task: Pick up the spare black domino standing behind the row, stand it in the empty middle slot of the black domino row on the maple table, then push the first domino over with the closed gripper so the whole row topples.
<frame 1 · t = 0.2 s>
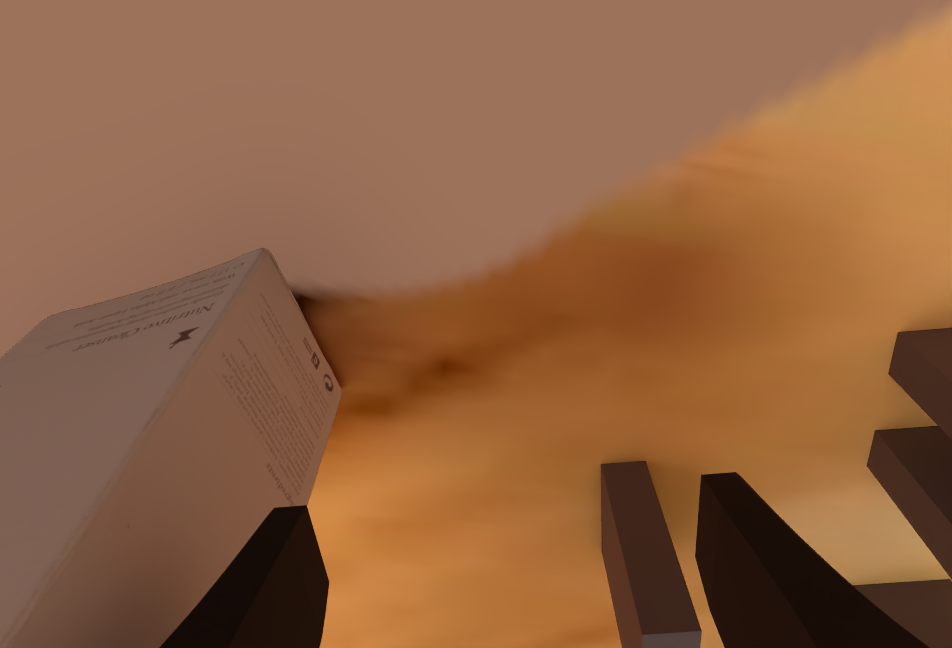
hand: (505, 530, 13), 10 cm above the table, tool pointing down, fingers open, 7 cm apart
skincare box: (200, 355, 23), on the table
tile 2: (890, 596, 28), on the table
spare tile: (622, 507, 26), on the table
tile 4: (934, 443, 24), on the table
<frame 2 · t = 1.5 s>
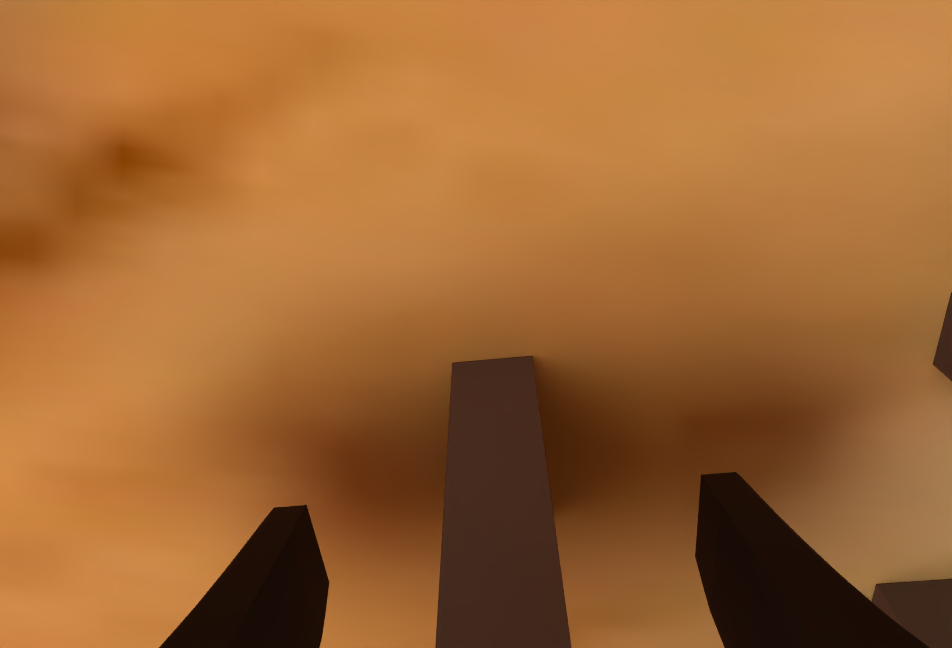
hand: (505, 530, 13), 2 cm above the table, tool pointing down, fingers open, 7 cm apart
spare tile: (501, 445, 15), on the table
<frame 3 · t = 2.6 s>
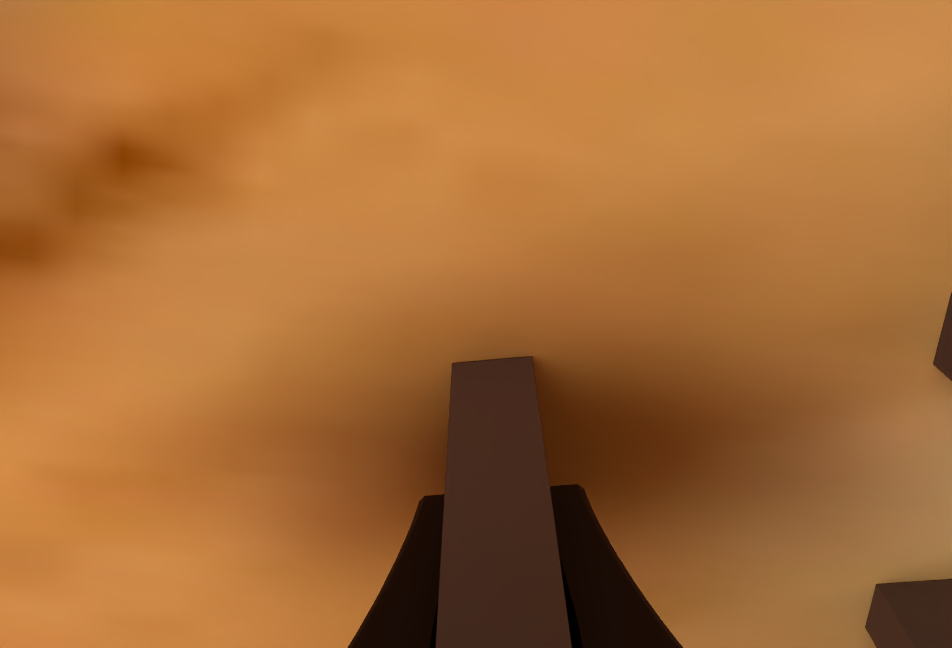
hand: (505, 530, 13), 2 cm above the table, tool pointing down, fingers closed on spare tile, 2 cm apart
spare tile: (501, 446, 15), on the table, touching gripper
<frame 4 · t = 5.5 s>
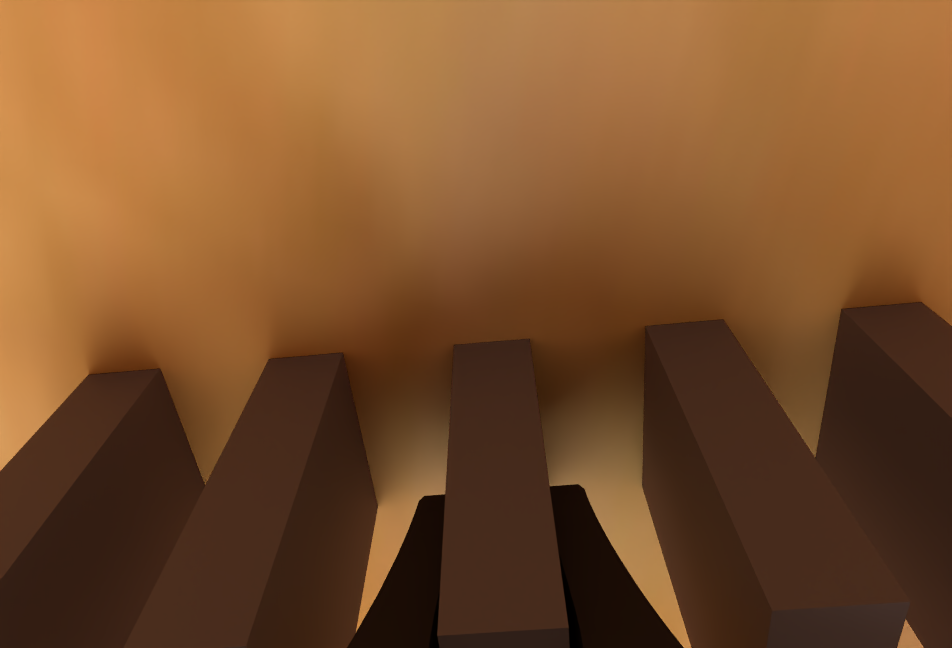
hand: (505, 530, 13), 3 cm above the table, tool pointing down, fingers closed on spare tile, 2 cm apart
tile 2: (679, 409, 15), on the table
tile 5: (157, 451, 16), on the table
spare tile: (499, 425, 16), on the table, touching gripper
tile 4: (326, 437, 16), on the table
tile 1: (863, 394, 15), on the table
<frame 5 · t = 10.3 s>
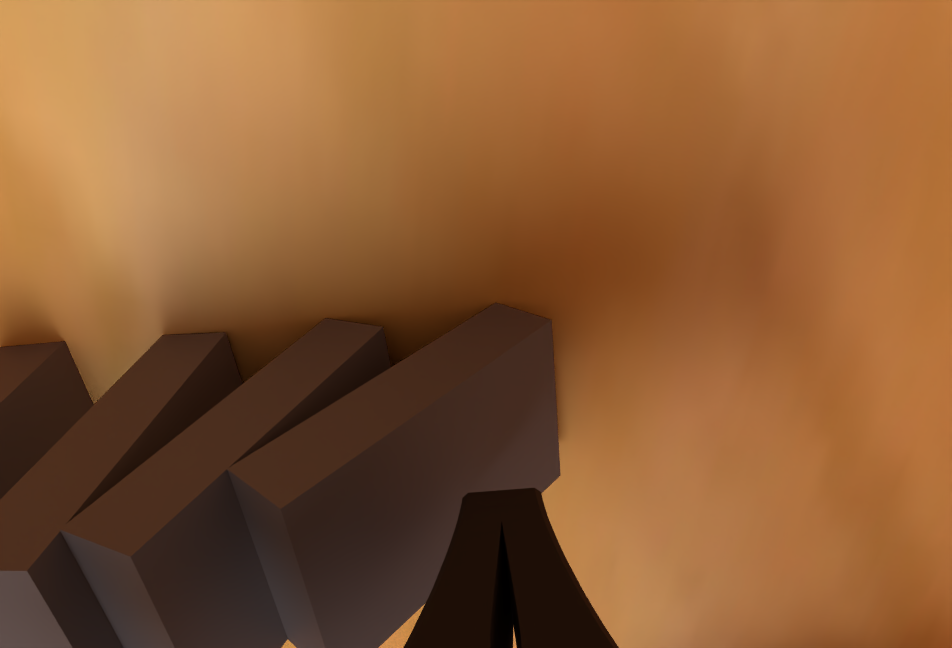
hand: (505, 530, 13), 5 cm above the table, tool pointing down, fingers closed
tile 2: (370, 400, 17), on the table, tilted 25°
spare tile: (220, 409, 17), on the table, tilted 6°
tile 4: (68, 418, 17), on the table
tile 1: (529, 391, 16), point 1 cm above the table, tilted 42°
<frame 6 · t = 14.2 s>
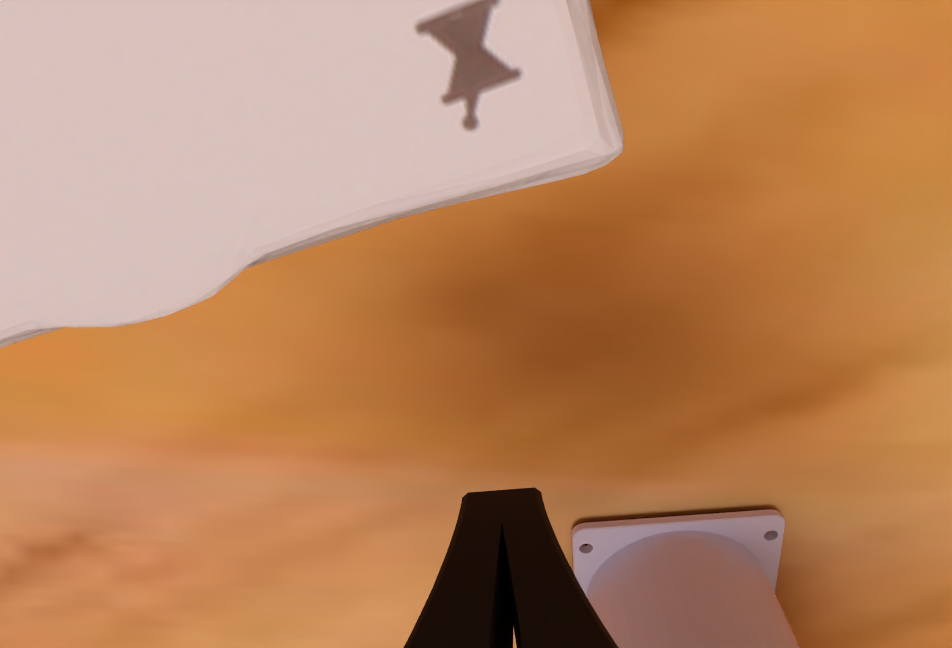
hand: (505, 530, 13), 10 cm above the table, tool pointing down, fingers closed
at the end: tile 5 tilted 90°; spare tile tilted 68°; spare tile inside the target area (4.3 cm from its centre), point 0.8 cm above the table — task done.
